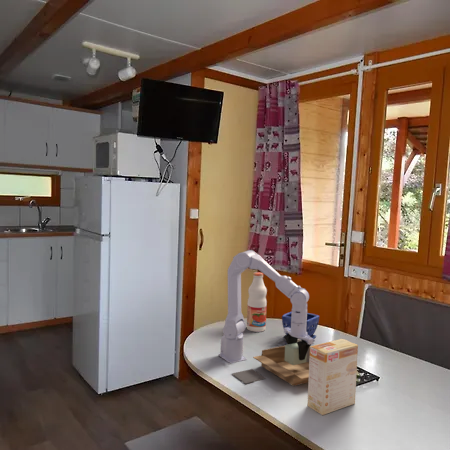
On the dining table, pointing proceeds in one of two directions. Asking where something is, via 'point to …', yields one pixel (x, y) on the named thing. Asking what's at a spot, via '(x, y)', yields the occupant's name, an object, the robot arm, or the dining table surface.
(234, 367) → the dining table surface
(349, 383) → the coffeecake box
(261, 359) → the wooden tray
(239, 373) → the mat
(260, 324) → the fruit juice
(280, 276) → the robot arm
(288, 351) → the capped block
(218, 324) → the dining table surface
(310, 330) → the flower pot
